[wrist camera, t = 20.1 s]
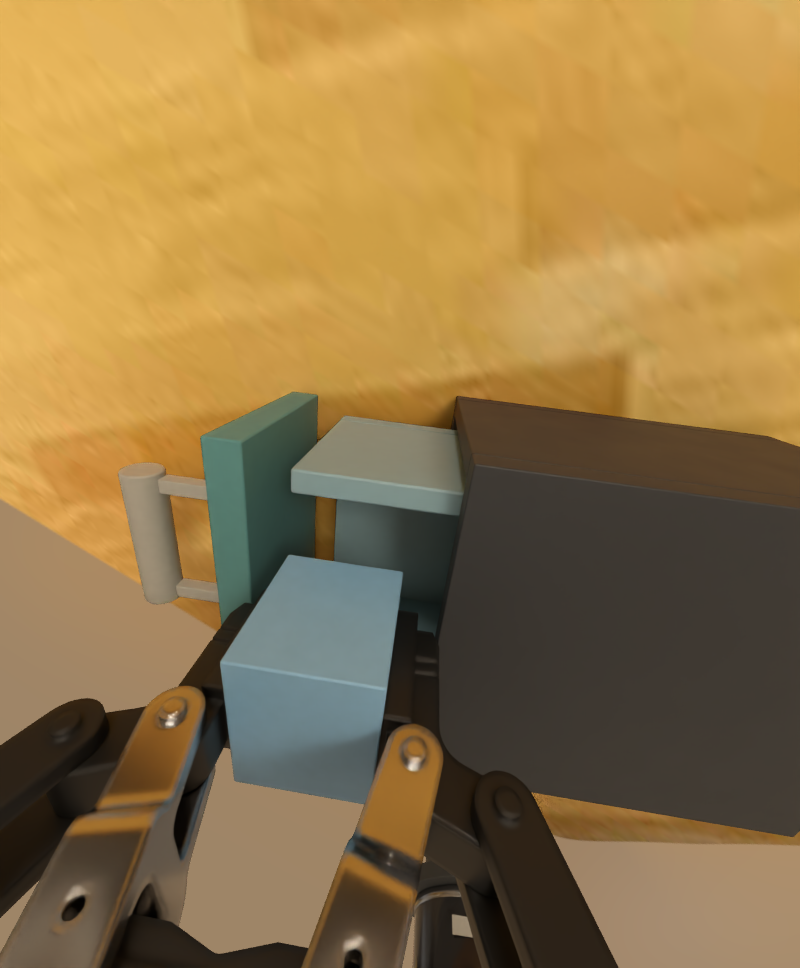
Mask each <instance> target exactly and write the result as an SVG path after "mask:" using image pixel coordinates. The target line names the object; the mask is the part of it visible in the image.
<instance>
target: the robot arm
mask: <svg viewBox="0 0 800 968" xmlns="http://www.w3.org/2000/svg"><path fill="white" fill-rule="evenodd" d="M265 591H266V589H264V590H263V591H262V593H261V594H260V596H259V597H258V599H257V600H256V602H255V603H254V604H251V603H244V604H242V605H241V606H239V607H238V608H237V609H235V610H234V611H233V612H231V613H230V614H229V616H228V617H227V619H226V620H225V621H224V623H223V624H222V626H221V628H220V629H219V630H218V631H217V633H216V634H215V636H214V637H213V640H212V641H210V642H209V644H208V645H207V647H206V648H205V650H204V651H203V652H202V654H201V656H200V657H199V658H198V659H197V661H196V662H195V664H194V665H193V667H192V668H191V669H190V671H189V672H188V673H187V675H186V676H185V678H184V679H183V681H182V682H181V683H180V684H179V686H178V687H175V688H172V689H169V690H167V691H165V692H163V693H161V694H160V695H158V696H157V697H156V698H154V699H153V700H152V701H151V702H150V703H149V704H148V705H147V706H145V707H140V708H135V709H128V710H122V711H115V712H108V713H105V710H104V707H103V705H102V704H101V703H100V702H99V701H97V700H94V699H88V698H86V699H78V700H74V701H70V702H68V703H65V704H63V705H61V706H59V707H57V708H55V709H53V710H52V711H50V712H49V713H47V714H46V715H44V716H43V717H41V718H40V719H38V720H37V721H35V722H34V723H32V724H31V725H30V726H28V727H27V728H25V729H24V730H23V731H21V732H19V733H18V734H16V735H15V736H13V737H12V738H11V739H9V740H8V741H6V742H5V743H3V744H2V745H0V918H1V917H2V916H3V915H4V914H5V913H6V912H7V911H8V910H9V909H10V908H11V907H12V906H13V905H14V904H15V903H16V902H17V901H18V900H19V899H20V898H21V897H22V896H23V895H24V894H25V893H26V892H27V891H28V890H29V889H30V888H32V887H33V885H34V884H36V882H38V881H39V882H38V884H37V886H36V888H35V889H34V891H33V893H32V895H31V897H30V899H29V901H28V903H27V904H26V906H25V908H24V910H23V912H22V914H21V916H20V917H19V919H18V921H17V923H16V925H15V927H14V929H13V930H12V932H11V934H10V936H9V938H8V940H7V942H6V944H5V945H4V947H3V949H2V951H1V953H0V968H402V964H403V960H404V955H405V950H406V945H407V940H408V935H409V930H410V926H411V921H412V916H413V911H414V917H415V920H414V946H413V947H414V948H413V968H618V966H617V964H616V962H615V960H614V958H613V956H612V954H611V952H610V950H609V948H608V946H607V944H606V942H605V940H604V937H603V935H602V933H601V931H600V930H599V927H598V926H597V924H596V921H595V919H594V917H593V915H592V913H591V911H590V909H589V907H588V905H587V903H586V901H585V899H584V897H583V895H582V893H581V891H580V889H579V887H578V885H577V883H576V881H575V879H574V878H573V875H572V873H571V871H570V869H569V868H568V865H567V863H566V861H565V859H564V857H563V855H562V853H561V851H560V849H559V847H558V845H557V843H556V841H555V839H554V837H553V835H552V833H551V831H550V829H549V827H548V825H547V823H546V821H545V819H544V817H543V815H542V813H541V811H540V809H539V807H538V805H537V803H536V801H535V799H534V797H533V795H532V793H531V792H530V790H529V789H528V788H527V786H526V785H525V784H524V783H523V782H522V781H521V780H519V779H518V778H517V777H515V776H514V775H512V774H510V773H508V772H504V771H498V770H496V771H491V772H488V773H486V774H485V775H481V774H479V773H477V772H476V771H474V770H472V769H470V768H468V767H467V766H465V765H463V764H462V763H460V762H459V761H457V760H456V759H455V758H454V757H453V756H452V755H451V754H450V753H449V751H448V750H447V748H446V747H445V745H444V743H443V741H442V738H441V734H440V727H439V645H438V643H437V641H436V639H435V637H434V634H433V632H426V631H420V630H417V628H418V613H416V612H409V611H403V610H398V616H397V623H396V630H395V637H394V644H393V652H392V659H391V666H390V673H389V680H388V688H387V695H386V701H385V708H384V715H383V722H382V729H381V736H380V743H379V749H378V756H377V763H376V770H375V776H374V779H373V782H372V785H371V788H370V790H369V793H368V796H367V799H366V802H365V804H364V807H363V810H362V813H361V816H360V818H359V821H358V824H357V827H356V830H355V832H354V834H353V836H352V838H351V839H350V840H349V842H348V843H347V846H346V848H345V850H344V853H343V855H342V858H341V860H340V863H339V866H338V868H337V871H336V874H335V877H334V880H333V882H332V885H331V888H330V890H329V893H328V896H327V899H326V901H325V904H324V907H323V909H322V912H321V915H320V918H319V920H318V923H317V926H316V929H315V931H314V935H313V937H312V940H311V942H310V945H309V948H304V947H299V946H294V945H289V944H284V943H278V942H277V943H272V944H268V945H263V946H258V947H253V948H248V949H243V950H238V951H233V952H228V953H224V954H216V953H214V952H212V951H210V950H209V949H208V948H206V947H205V946H204V945H202V944H201V943H200V942H198V941H197V940H196V939H194V938H193V937H191V936H190V935H189V934H188V933H186V932H185V931H183V930H182V929H181V928H179V923H180V919H181V915H182V910H183V906H184V901H185V895H186V886H187V874H188V869H189V864H190V860H191V857H192V853H193V849H194V846H195V842H196V839H197V835H198V832H199V828H200V825H201V821H202V818H203V814H204V811H205V806H206V803H207V800H208V796H209V792H210V789H211V786H212V782H213V779H214V775H215V764H216V762H217V759H218V758H219V755H220V754H221V752H222V750H223V748H229V749H230V741H229V733H228V725H227V717H226V709H225V700H224V692H223V684H222V676H221V667H220V661H221V659H222V658H223V656H224V655H225V653H226V652H227V650H228V649H229V647H230V645H231V644H232V642H233V641H234V639H235V638H236V636H237V634H238V633H239V631H240V630H241V628H242V627H243V625H244V624H245V622H246V620H247V619H248V617H249V616H250V614H251V613H252V611H253V610H254V608H255V606H256V605H257V603H258V602H259V600H260V599H261V597H262V596H263V594H264V592H265ZM424 856H425V857H426V858H428V859H429V860H431V861H432V862H434V863H435V864H437V865H438V866H440V867H441V868H443V869H444V870H446V871H447V872H449V873H450V874H452V875H453V876H455V878H456V881H457V884H444V885H437V886H432V887H429V888H426V889H424V890H422V891H421V892H419V893H418V894H417V891H418V886H419V881H420V873H421V867H422V861H423V857H424Z"/></svg>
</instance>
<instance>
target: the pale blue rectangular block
mask: <svg viewBox="0 0 800 968" xmlns="http://www.w3.org/2000/svg"><path fill="white" fill-rule="evenodd" d="M402 579H403V572H400V571H394V570H387V569H381V568H374V567H368V566H361V565H355V564H348V563H341V562H335V561H328V560H322V559H315V558H309V557H302V556H296V555H288V557H287V558H286V560H285V561H284V563H283V564H282V566H281V567H280V569H279V571H278V572H277V574H276V575H275V577H274V578H273V580H272V581H271V583H270V585H269V586H268V588H267V589H266V591H265V592H264V594H263V596H262V597H261V599H260V600H259V602H258V603H257V605H256V606H255V608H254V610H253V611H252V613H251V614H250V616H249V617H248V619H247V620H246V622H245V624H244V625H243V627H242V628H241V630H240V631H239V633H238V634H237V636H236V638H235V639H234V641H233V642H232V644H231V645H230V647H229V649H228V650H227V652H226V653H225V655H224V656H223V658H222V659H221V661H220V667H221V676H222V684H223V692H224V700H225V709H226V717H227V725H228V733H229V741H230V750H231V757H232V765H233V774H234V780H235V781H236V782H242V783H248V784H253V785H259V786H264V787H271V788H275V789H281V790H287V791H292V792H298V793H304V794H309V795H315V796H320V797H326V798H331V799H337V800H343V801H348V802H354V803H359V804H365V802H366V799H367V796H368V793H369V790H370V788H371V785H372V782H373V779H374V776H375V770H376V763H377V756H378V749H379V743H380V736H381V729H382V722H383V715H384V708H385V701H386V695H387V688H388V680H389V673H390V666H391V659H392V652H393V644H394V637H395V630H396V623H397V616H398V608H399V601H400V594H401V587H402Z"/></svg>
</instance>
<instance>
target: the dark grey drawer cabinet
mask: <svg viewBox="0 0 800 968" xmlns="http://www.w3.org/2000/svg"><path fill="white" fill-rule="evenodd" d="M451 430H457V431H458V436H459V441H460V447H461V452H462V458H463V463H464V469H465V474H466V479H467V480H466V485H465V490H464V495H463V500H462V505H461V510H460V515H459V520H458V524H457V529H456V534H455V539H454V544H453V549H452V554H451V559H450V564H449V569H448V574H447V579H446V584H445V589H444V594H443V599H442V604H441V609H440V614H439V619H438V624H437V629H436V633H435V639H436V641H437V643H438V645H439V727H440V734H441V738H442V741H443V743H444V745H445V747H446V748H447V750H448V751H449V753H450V754H451V755H452V756H453V757H454V758H455V759H456V760H457V761H459V762H460V763H462V764H463V765H465V766H467V767H468V768H470V769H472V770H474V771H476V772H477V773H479V774H481V775H485V774H486V773H488V772H491V771H496V770H498V771H504V772H508V773H510V774H512V775H514V776H515V777H517V778H518V779H519V780H521V781H522V782H523V783H524V784H525V785H526V786H527V788H528V789H529V790H530V792H533V793H539V794H545V795H551V796H557V797H562V798H568V799H574V800H580V801H586V802H592V803H597V804H603V805H609V806H615V807H621V808H627V809H632V810H638V811H644V812H650V813H656V814H662V815H667V816H673V817H679V818H685V819H691V820H697V821H702V822H708V823H714V824H720V825H726V826H731V827H737V828H743V829H749V830H755V831H761V832H766V833H772V834H778V835H784V836H790V837H794V836H795V835H796V834H797V833H798V832H799V831H800V447H798V446H795V445H792V444H789V443H786V442H782V441H780V440H777V439H774V438H771V437H768V436H761V435H754V434H746V433H738V432H731V431H723V430H715V429H707V428H700V427H692V426H684V425H677V424H669V423H661V422H654V421H646V420H638V419H630V418H623V417H615V416H607V415H600V414H592V413H584V412H577V411H569V410H561V409H553V408H546V407H538V406H530V405H523V404H515V403H507V402H500V401H492V400H484V399H476V398H469V397H461V396H457V397H456V403H455V409H454V415H453V420H452V426H451Z"/></svg>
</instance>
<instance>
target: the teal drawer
mask: <svg viewBox="0 0 800 968" xmlns="http://www.w3.org/2000/svg"><path fill="white" fill-rule="evenodd" d="M317 411H318V396H317V395H314V394H307V393H299V392H292V393H290V394H288V395H286V396H283V397H281V398H279V399H277V400H275V401H273V402H271V403H269V404H267V405H265V406H263V407H261V408H258V409H256V410H254V411H252V412H250V413H248V414H246V415H244V416H242V417H240V418H238V419H236V420H233V421H231V422H229V423H227V424H225V425H223V426H221V427H219V428H217V429H215V430H213V431H211V432H208V433H206V434H204V435H202V436H201V438H200V439H201V448H202V457H203V465H204V474H205V480H203V479H196V478H189V477H182V476H175V475H166V469H165V467H164V466H163V465H161V464H157V463H137V464H132V465H129V466H126V467H123V468H122V469H120V470H119V473H118V476H119V481H120V485H121V490H122V494H123V499H124V504H125V508H126V513H127V518H128V522H129V527H130V531H131V536H132V541H133V545H134V550H135V554H136V559H137V564H138V568H139V573H140V577H141V582H142V587H143V591H144V596H145V599H146V600H147V601H148V602H149V603H152V604H165V603H169V602H171V601H174V600H175V599H177V598H178V597H185V598H192V599H198V600H204V601H211V602H217V603H219V606H220V615H221V624H223V623H224V621H225V620H226V619H227V617H228V616H229V614H230V613H231V612H233V611H234V610H235V609H237V608H238V607H239V606H241V605H242V604H244V603H251V604H254V603H255V602H256V600H257V599H258V597H259V596H260V594H261V593H262V591H263V590H264V589H267V588H268V586H269V585H270V583H271V581H272V580H273V578H274V577H275V575H276V574H277V572H278V571H279V569H280V567H281V566H282V564H283V563H284V561H285V560H286V558H287V557H288V555H296V556H302V557H309V558H315V509H316V496H319V497H326V498H333V499H337V501H336V523H335V544H334V561H335V562H341V563H348V564H355V565H361V566H368V567H374V568H381V569H387V570H394V571H400V572H403V579H402V587H401V594H400V601H399V608H398V610H403V611H409V612H416V613H418V628H417V630H420V631H426V632H433V634H434V637H435V633H436V629H437V624H438V619H439V614H440V609H441V604H442V599H443V594H444V589H445V584H446V579H447V574H448V569H449V564H450V559H451V554H452V549H453V544H454V539H455V534H456V529H457V524H458V520H459V515H460V510H461V505H462V500H463V495H464V490H465V485H466V480H467V479H466V474H465V469H464V463H463V458H462V452H461V447H460V441H459V436H458V431H457V430H450V429H442V428H435V427H427V426H420V425H412V424H405V423H397V422H390V421H382V420H375V419H367V418H360V417H352V416H344V417H343V418H342V419H341V420H340V421H339V422H338V423H337V424H336V425H335V426H334V427H333V428H332V429H331V430H330V431H329V432H328V433H327V434H326V435H325V436H324V437H323V438H322V439H321V440H320V441H319V442H318V443H317ZM170 495H174V496H181V497H187V498H194V499H201V500H207V501H208V510H209V518H210V527H211V536H212V545H213V554H214V562H215V571H216V580H217V583H213V582H207V581H200V580H194V579H187V578H183V575H182V569H181V563H180V556H179V550H178V544H177V537H176V531H175V525H174V519H173V512H172V506H171V500H170Z"/></svg>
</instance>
